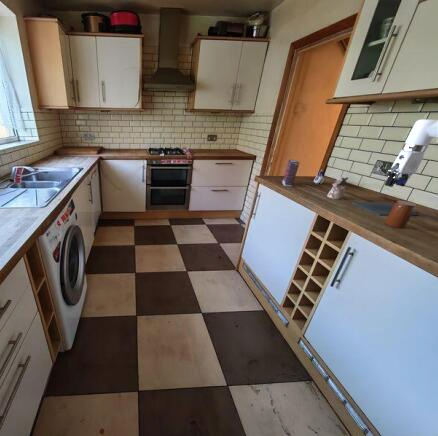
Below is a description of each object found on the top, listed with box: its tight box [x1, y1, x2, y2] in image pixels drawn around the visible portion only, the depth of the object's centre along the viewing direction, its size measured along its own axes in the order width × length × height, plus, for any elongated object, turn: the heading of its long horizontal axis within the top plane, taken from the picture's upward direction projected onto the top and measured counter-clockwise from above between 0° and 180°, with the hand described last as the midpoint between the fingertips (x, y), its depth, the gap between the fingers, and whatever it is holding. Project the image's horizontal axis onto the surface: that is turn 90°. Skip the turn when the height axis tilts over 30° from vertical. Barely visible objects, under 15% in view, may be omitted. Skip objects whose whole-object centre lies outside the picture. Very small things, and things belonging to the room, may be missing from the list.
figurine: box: [327, 176, 349, 200], centre depth 129 cm, size 7×7×12 cm
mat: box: [351, 201, 419, 217], centre depth 117 cm, size 20×16×1 cm
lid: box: [394, 176, 409, 185], centre depth 111 cm, size 7×7×2 cm
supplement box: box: [281, 159, 300, 188], centre depth 149 cm, size 9×5×16 cm, turn 161°
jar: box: [384, 200, 417, 229], centre depth 98 cm, size 6×6×10 cm
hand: (394, 185), depth 112 cm, fingers closed on lid, 6 cm apart
